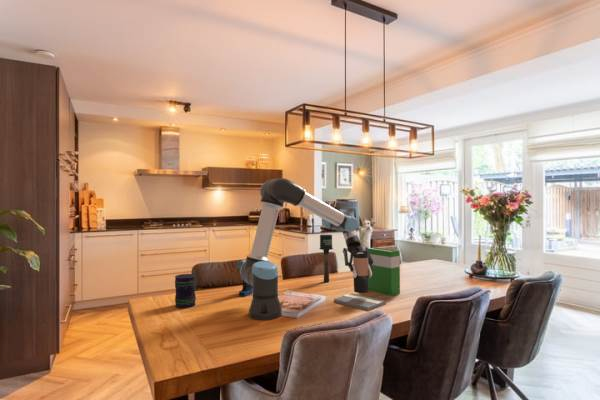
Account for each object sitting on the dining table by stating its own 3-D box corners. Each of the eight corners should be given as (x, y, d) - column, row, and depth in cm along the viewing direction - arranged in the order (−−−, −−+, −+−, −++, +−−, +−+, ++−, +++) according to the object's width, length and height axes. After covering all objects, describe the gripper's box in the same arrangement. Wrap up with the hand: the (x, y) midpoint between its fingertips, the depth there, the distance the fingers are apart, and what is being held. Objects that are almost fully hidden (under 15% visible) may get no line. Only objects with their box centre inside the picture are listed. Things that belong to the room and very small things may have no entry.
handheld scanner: (235, 296, 192) (235, 260, 191) (252, 289, 206) (253, 256, 206) (242, 297, 189) (242, 261, 189) (259, 291, 204) (259, 257, 204)
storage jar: (200, 304, 178) (199, 275, 178) (184, 309, 170) (184, 278, 170) (186, 301, 183) (186, 273, 183) (170, 306, 175) (170, 276, 175)
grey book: (368, 310, 165) (368, 306, 165) (334, 301, 180) (333, 298, 180) (385, 303, 176) (385, 300, 176) (351, 296, 191) (351, 292, 191)
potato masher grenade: (322, 283, 220) (321, 235, 220) (318, 280, 228) (317, 234, 228) (335, 282, 222) (334, 235, 222) (330, 279, 230) (329, 234, 230)
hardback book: (366, 289, 205) (366, 248, 205) (375, 287, 209) (374, 247, 209) (391, 295, 191) (391, 251, 191) (399, 293, 195) (399, 250, 195)
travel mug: (366, 289, 184) (366, 251, 184) (370, 293, 176) (369, 253, 176) (352, 289, 184) (351, 251, 184) (355, 293, 176) (354, 253, 176)
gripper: (368, 243, 197) (380, 279, 181) (333, 245, 193) (342, 281, 177) (371, 235, 192) (384, 270, 176) (335, 236, 188) (345, 272, 172)
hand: (363, 276), depth 177 cm, fingers closed on travel mug, 7 cm apart
